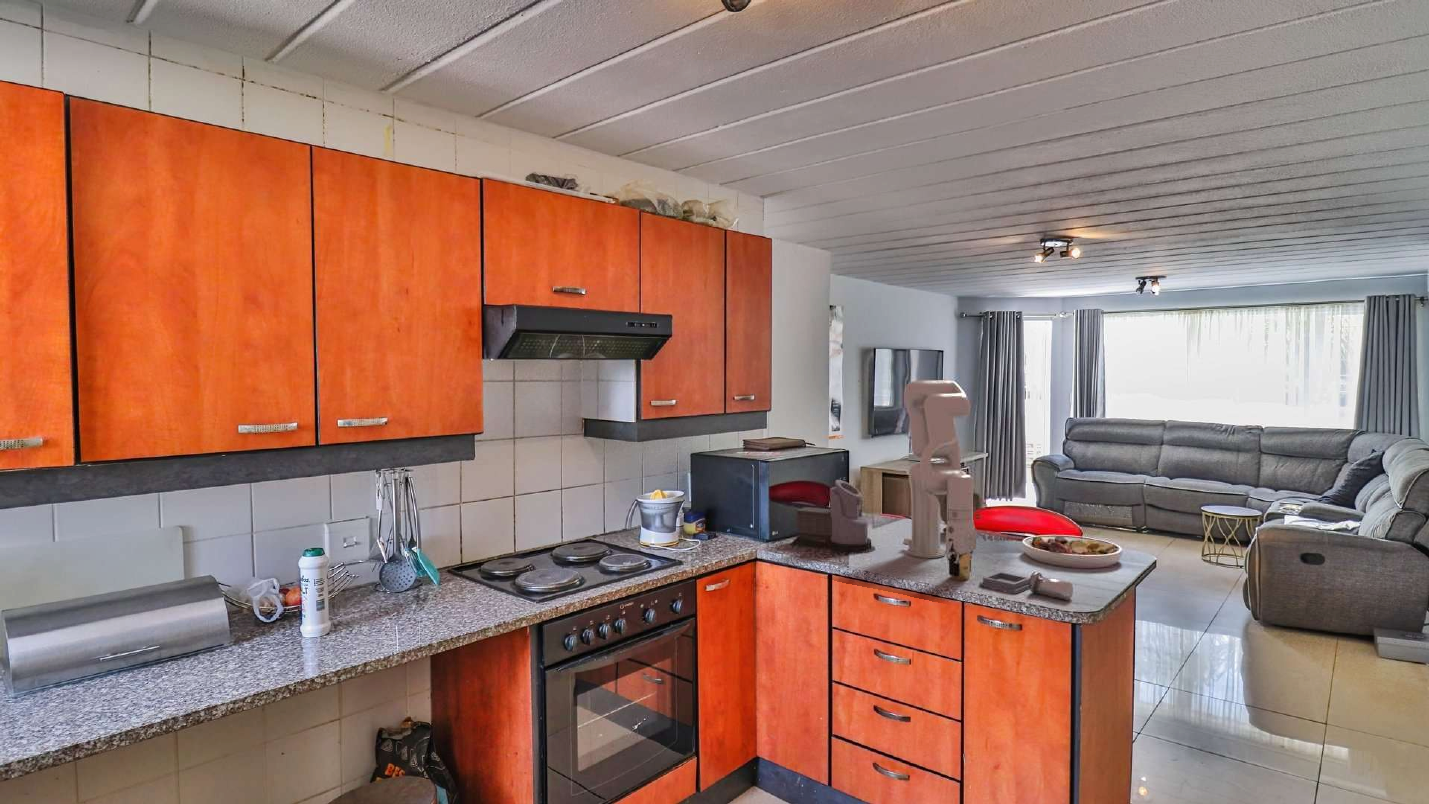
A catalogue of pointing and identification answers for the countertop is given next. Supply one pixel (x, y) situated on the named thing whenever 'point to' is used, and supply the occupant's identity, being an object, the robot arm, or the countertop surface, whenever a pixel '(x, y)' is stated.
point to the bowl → (1072, 551)
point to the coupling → (963, 567)
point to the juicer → (835, 523)
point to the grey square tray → (1006, 582)
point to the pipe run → (1050, 587)
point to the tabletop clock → (943, 504)
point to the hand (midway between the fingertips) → (959, 573)
